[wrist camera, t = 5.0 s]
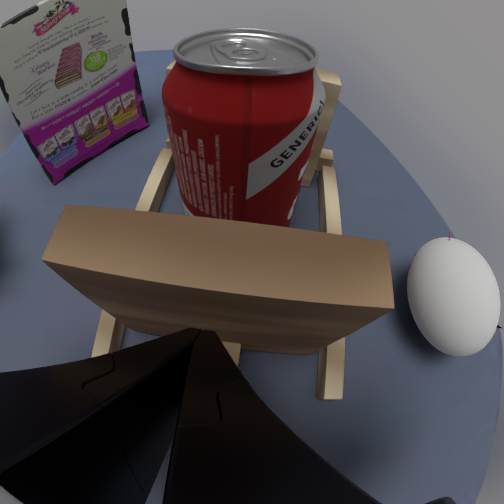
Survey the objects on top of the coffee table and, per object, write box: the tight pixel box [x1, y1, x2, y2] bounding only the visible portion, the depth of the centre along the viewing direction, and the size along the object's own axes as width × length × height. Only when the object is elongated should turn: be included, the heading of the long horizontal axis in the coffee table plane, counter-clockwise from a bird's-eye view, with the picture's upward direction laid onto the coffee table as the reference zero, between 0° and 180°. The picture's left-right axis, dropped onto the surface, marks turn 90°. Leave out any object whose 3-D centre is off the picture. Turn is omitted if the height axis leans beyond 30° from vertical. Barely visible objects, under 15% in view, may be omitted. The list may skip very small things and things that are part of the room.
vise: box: [91, 60, 345, 399], centre depth 14 cm, size 18×13×9 cm
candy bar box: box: [0, 0, 149, 185], centre depth 15 cm, size 11×5×16 cm, turn 133°
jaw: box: [41, 205, 394, 367], centre depth 9 cm, size 9×10×9 cm
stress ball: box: [407, 233, 501, 357], centre depth 13 cm, size 8×8×7 cm
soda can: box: [162, 28, 326, 227], centre depth 13 cm, size 7×7×12 cm
